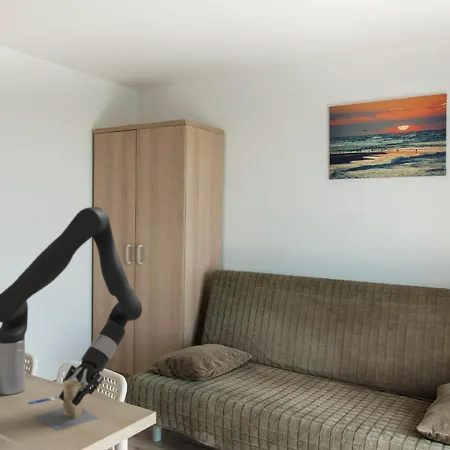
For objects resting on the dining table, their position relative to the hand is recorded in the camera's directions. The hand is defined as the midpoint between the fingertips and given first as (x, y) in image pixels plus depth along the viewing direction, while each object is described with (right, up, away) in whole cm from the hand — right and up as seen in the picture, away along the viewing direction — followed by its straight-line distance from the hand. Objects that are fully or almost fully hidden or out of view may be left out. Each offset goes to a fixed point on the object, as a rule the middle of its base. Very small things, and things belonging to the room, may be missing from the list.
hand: (67, 401), depth 154 cm
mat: (0, -5, 0) cm, 5 cm away
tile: (+1, -5, +2) cm, 5 cm away
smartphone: (-9, -5, +14) cm, 17 cm away
